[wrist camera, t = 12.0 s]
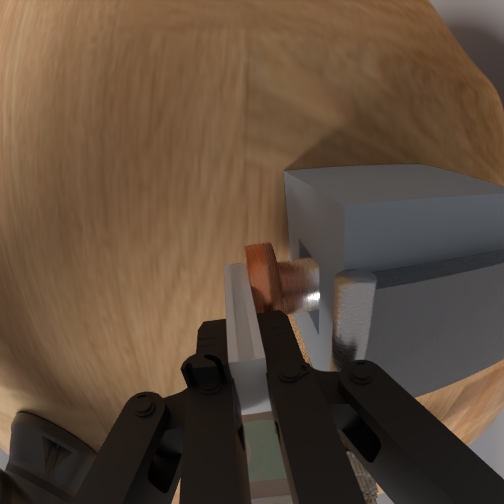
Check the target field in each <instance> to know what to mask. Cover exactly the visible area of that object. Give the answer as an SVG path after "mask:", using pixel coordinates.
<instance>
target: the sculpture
mask: <svg viewBox="0 0 504 504" xmlns="http://www.w3.org/2000/svg"><path fill="white" fill-rule="evenodd" d="M346 453H347V455H348V458H349V460H350V463H351V465H352V468H353V470H354V473H355V476H356V478H357V481H358V483H359V486H360V488H361V491H362V494H363V496H364V499H365V501H366V504H377V503H376V498H377V492H378V489H377V485H376V481H375V480H374V479H373V478H372V476H371V475H370V474H369V473H368V472H367V470H366V469H365V468H364V467H363V465H362V464H361V463H360V462H359V461H358V459H357V458H356V457H355V456H354V454H353V453H352V452H350V451H348V452H346Z"/></svg>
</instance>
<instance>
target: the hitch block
mask: <svg viewBox="0 0 504 504" xmlns="http://www.w3.org/2000/svg"><path fill="white" fill-rule="evenodd" d="M283 173H284V183H285V194H286V206H287V218H288V230H289V244H290V259H291V260H297V259H303V258H310V257H312V258H313V259H314V261H315V262H316V263H317V265H318V266H319V310H314V311H308V312H302V313H297V314H294V317H295V320H296V323H297V325H298V328H299V331H300V334H301V336H302V339H303V342H304V344H305V347H306V350H307V353H308V355H309V358H310V361H311V364H312V367H313V368H314V369H317V370H320V371H329V370H330V359H331V345H332V330H333V311H334V280H335V275H336V274H337V273H339V272H340V271H343V270H346V269H363V270H367V271H369V272H374V271H380V270H387V269H393V268H400V267H406V266H412V265H418V264H424V263H430V262H436V261H442V260H448V259H453V258H459V257H464V256H469V255H475V254H480V253H485V252H490V251H495V250H500V249H504V187H503V186H500V185H497V184H494V183H491V182H488V181H484V180H481V179H478V178H474V177H471V176H467V175H464V174H460V173H456V172H452V171H449V170H445V169H440V168H436V167H432V166H428V165H423V164H384V165H356V166H338V167H323V168H310V169H298V170H288V171H283Z"/></svg>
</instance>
